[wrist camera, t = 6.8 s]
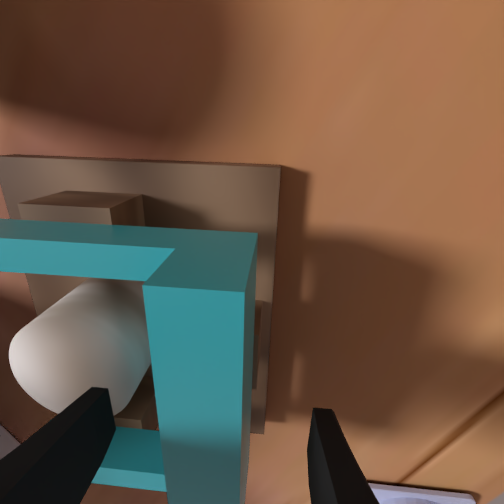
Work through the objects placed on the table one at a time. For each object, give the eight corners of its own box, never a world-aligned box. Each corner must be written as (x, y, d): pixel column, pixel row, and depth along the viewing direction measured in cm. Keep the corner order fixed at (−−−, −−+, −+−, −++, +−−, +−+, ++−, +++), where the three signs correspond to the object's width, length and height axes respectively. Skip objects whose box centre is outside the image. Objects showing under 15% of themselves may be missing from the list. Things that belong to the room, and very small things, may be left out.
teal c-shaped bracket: (55, 435, 16) (-21, 538, 12) (-11, 218, 12) (-167, 263, 8) (249, 456, 15) (237, 573, 11) (258, 232, 11) (244, 292, 7)
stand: (75, 398, 21) (8, 486, 16) (14, 154, 15) (-127, 165, 10) (264, 417, 20) (259, 516, 15) (280, 164, 14) (281, 183, 9)
